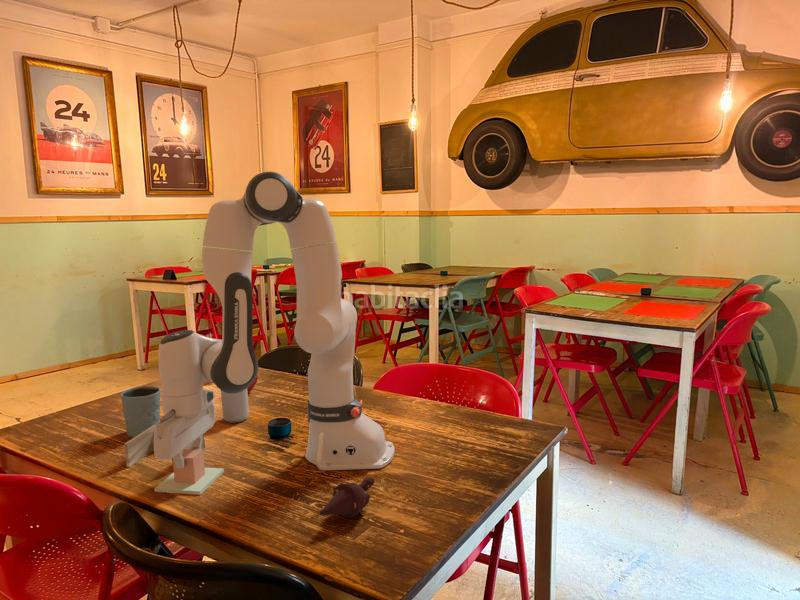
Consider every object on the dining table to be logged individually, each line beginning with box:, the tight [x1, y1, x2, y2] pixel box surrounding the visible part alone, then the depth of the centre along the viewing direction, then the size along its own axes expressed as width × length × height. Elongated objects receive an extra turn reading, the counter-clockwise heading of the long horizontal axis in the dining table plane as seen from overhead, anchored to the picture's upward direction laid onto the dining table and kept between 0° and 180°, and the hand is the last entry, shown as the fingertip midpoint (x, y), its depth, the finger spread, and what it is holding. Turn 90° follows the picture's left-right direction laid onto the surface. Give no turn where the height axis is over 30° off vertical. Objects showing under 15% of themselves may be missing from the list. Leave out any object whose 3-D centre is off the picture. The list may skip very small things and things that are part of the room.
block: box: [172, 449, 205, 483], centre depth 128 cm, size 5×4×6 cm
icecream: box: [319, 476, 375, 519], centre depth 112 cm, size 7×7×15 cm
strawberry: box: [247, 375, 259, 393], centre depth 191 cm, size 6×8×10 cm
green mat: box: [154, 467, 225, 496], centre depth 129 cm, size 11×11×1 cm
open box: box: [124, 424, 206, 468], centre depth 142 cm, size 14×13×6 cm
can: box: [220, 389, 250, 424], centre depth 166 cm, size 8×8×12 cm
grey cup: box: [120, 385, 161, 439], centre depth 158 cm, size 10×10×12 cm
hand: (188, 460), depth 128 cm, fingers open, 5 cm apart
